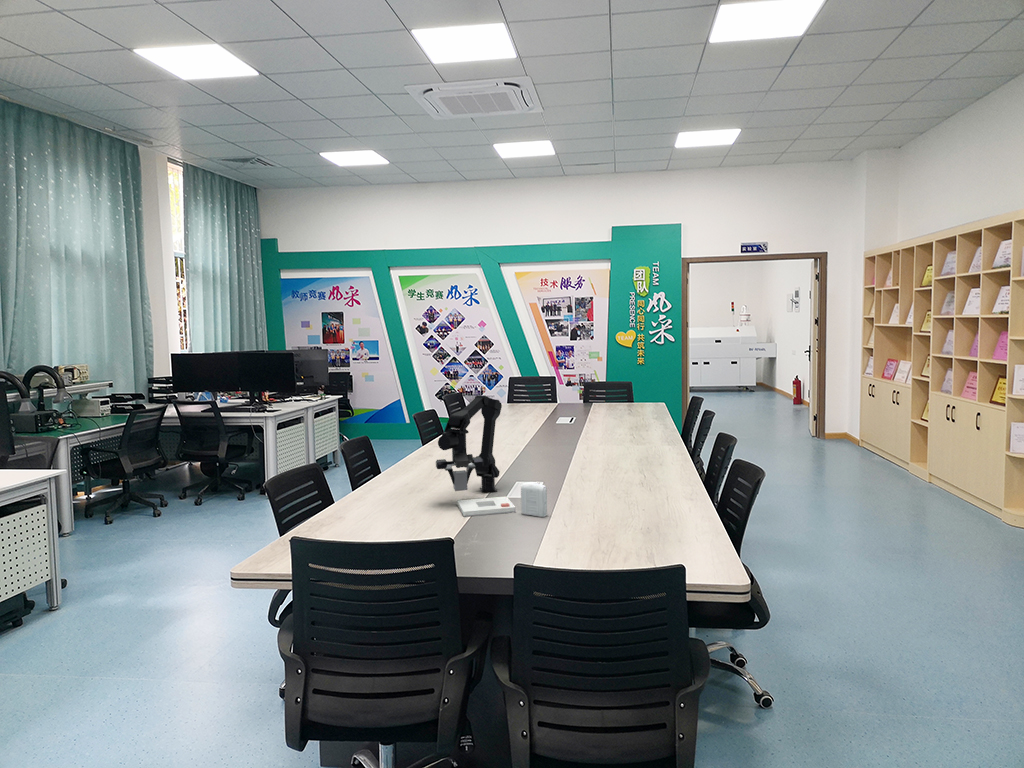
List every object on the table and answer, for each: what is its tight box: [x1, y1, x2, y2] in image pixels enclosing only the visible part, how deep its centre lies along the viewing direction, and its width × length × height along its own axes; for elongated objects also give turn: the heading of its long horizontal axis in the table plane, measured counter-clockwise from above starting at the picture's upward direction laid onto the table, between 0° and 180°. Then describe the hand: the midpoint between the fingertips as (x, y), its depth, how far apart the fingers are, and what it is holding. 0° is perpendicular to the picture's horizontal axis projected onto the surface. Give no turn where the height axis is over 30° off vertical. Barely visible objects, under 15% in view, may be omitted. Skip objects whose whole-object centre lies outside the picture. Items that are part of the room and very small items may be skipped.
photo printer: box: [520, 481, 548, 518], centre depth 251 cm, size 10×4×12 cm, turn 61°
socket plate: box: [457, 496, 517, 518], centre depth 261 cm, size 16×20×3 cm
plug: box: [452, 470, 469, 492], centre depth 269 cm, size 5×5×7 cm
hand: (460, 484), depth 270 cm, fingers closed on plug, 5 cm apart
